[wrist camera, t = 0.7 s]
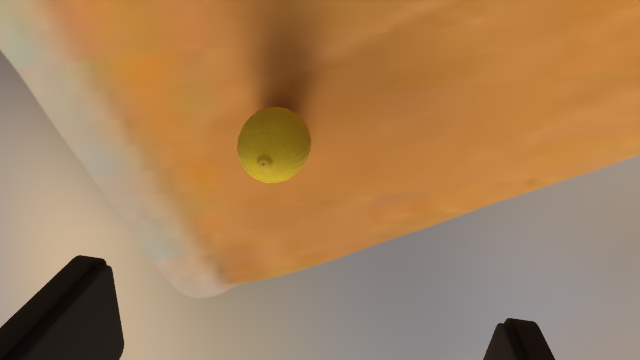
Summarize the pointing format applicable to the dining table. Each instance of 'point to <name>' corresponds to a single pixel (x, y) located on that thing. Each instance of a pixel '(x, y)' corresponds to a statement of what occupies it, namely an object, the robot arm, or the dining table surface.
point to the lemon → (274, 144)
